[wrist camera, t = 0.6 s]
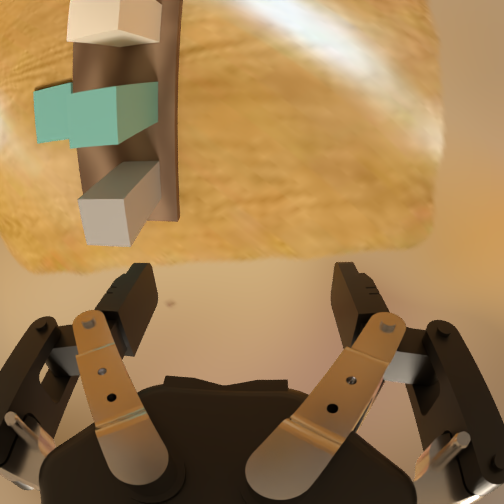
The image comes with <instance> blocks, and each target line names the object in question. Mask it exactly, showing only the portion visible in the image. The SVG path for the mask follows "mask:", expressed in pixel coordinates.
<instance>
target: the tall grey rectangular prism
mask: <svg viewBox="0 0 504 504" xmlns="http://www.w3.org/2000/svg"><path fill="white" fill-rule="evenodd" d="M160 199H161V185H160V167H159V161H131V162H122V163H121V164H119V165H118V166H117V167H115V168H114V169H113V170H112V171H110V172H109V173H108V174H107V175H106V176H104V177H103V178H102V179H101V180H100V181H98V182H97V183H96V184H95V185H94V186H92V187H91V188H90V189H89V190H88V191H87V192H86V193H84V194H83V195H82V196H81V197H80V198H79V199H78V204H79V209H80V214H81V219H82V224H83V229H84V233H85V238H86V242H87V245H101V246H121V247H131V246H132V244H133V242H134V240H135V239H136V237H137V236H138V234H139V232H140V231H141V229H142V227H143V226H144V224H145V222H146V221H147V219H148V218H149V216H150V215H151V213H152V211H153V210H154V208H155V207H156V205H157V204H158V202H159V201H160Z"/></svg>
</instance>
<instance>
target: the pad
mask: <svg viewBox="0 0 504 504" xmlns="http://www.w3.org/2000/svg"><path fill="white" fill-rule="evenodd" d="M33 93H34V112H35V124H36V134H37V143H44V142H50V141H57V140H65V139H69V131H68V118H67V100H66V95H67V94H72V93H73V82H71V83H67V84H62V85H58V86H54V87H50V88H46V89H42V90H38V91H35V92H33Z"/></svg>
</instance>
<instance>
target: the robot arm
mask: <svg viewBox="0 0 504 504" xmlns="http://www.w3.org/2000/svg"><path fill="white" fill-rule="evenodd" d="M157 303H158V292H157V288H156V283H155V279H154V274H153V269H152V266H151V264H150V263H133V264H132V266H131V267H130V269H129V270H128V271H127V273H126V274H122V275H121V276H120V277H118V278H117V279H116V280H115V281H114V282H113V283H112V285H111V287H110V288H109V289H108V290H107V293H106V294H105V295H104V296H103V298H102V299H101V301H100V302H99V303H98V305H97V307H96V308H95V310H89V311H86V312H83V313H81V314H80V315H78V316H77V317H76V318H75V319H74V321H73V324H72V325H66V326H58V325H57V322H56V320H55V319H54V318H53V317H50V316H46V317H42V318H39V319H38V320H36V321H35V322H33V323H32V324H31V325H30V327H29V328H28V330H27V331H26V332H25V334H24V335H23V337H22V338H21V340H20V341H19V343H18V344H17V346H16V347H15V349H14V350H13V352H12V353H11V355H10V356H9V358H8V359H7V361H6V363H5V364H4V366H3V367H2V369H1V371H0V475H2V476H3V477H4V478H6V479H7V480H9V481H11V482H13V483H14V484H15V485H17V486H18V487H20V488H21V489H24V490H31V489H36V490H39V491H40V494H41V504H473V503H475V502H476V501H478V500H480V499H481V498H483V497H484V496H486V495H487V494H489V493H491V492H492V491H494V490H495V489H496V488H498V487H499V486H501V485H502V484H503V483H504V423H503V421H502V418H501V416H500V414H499V411H498V409H497V407H496V404H495V402H494V400H493V398H492V396H491V393H490V391H489V389H488V387H487V385H486V383H485V381H484V378H483V376H482V374H481V373H480V370H479V368H478V367H477V365H476V363H475V361H474V359H473V357H472V355H471V353H470V351H469V349H468V348H467V346H466V344H465V342H464V340H463V339H462V337H461V335H460V333H459V332H458V330H457V329H456V328H455V326H453V325H452V324H450V323H449V322H446V321H442V320H434V321H432V322H430V323H429V324H428V325H427V328H426V330H419V329H412V328H408V327H406V324H405V322H404V321H403V319H402V318H400V317H399V316H397V315H395V314H393V313H390V312H389V310H388V308H387V306H386V304H385V302H384V300H383V298H382V296H381V295H380V294H379V291H378V289H377V288H376V285H375V283H374V282H373V280H372V279H371V278H370V277H369V276H367V275H366V274H365V273H358V271H357V269H356V267H355V265H354V263H353V262H336V263H335V267H334V274H333V282H332V290H331V306H332V310H333V313H334V317H335V320H336V323H337V327H338V331H339V334H340V337H341V341H342V345H343V348H344V350H343V351H342V353H341V354H340V355H339V357H338V358H337V360H336V361H335V362H334V364H333V365H332V366H331V368H330V369H329V370H328V372H327V373H326V374H325V376H324V377H323V378H322V379H321V381H320V382H319V383H318V385H317V386H316V387H315V388H314V390H313V391H312V392H311V393H310V395H308V394H306V393H303V392H301V391H297V390H294V389H289V388H288V381H287V380H255V381H249V382H244V383H238V384H232V385H218V384H215V383H211V382H207V381H204V380H200V379H196V378H188V377H175V376H166V377H165V380H164V384H161V385H156V386H152V387H149V388H146V389H143V390H141V391H140V392H138V393H137V391H136V389H135V387H134V385H133V383H132V381H131V379H130V377H129V374H128V372H127V370H126V368H125V365H124V363H123V361H122V359H123V357H124V355H125V356H133V357H134V356H135V354H136V351H137V349H138V347H139V345H140V342H141V340H142V338H143V335H144V333H145V331H146V328H147V326H148V324H149V322H150V319H151V317H152V315H153V313H154V311H155V308H156V306H157ZM45 363H46V365H47V366H48V368H49V369H48V372H47V373H46V375H45V377H44V379H43V381H42V383H41V384H40V381H39V374H40V371H41V369H42V367H43V365H44V364H45ZM79 376H81V380H82V384H83V387H84V391H85V394H86V397H87V401H88V404H89V407H90V411H91V414H92V417H93V420H94V423H93V424H91V425H90V426H88V427H87V428H85V429H84V430H82V431H81V432H79V433H78V434H76V435H75V436H73V437H72V438H70V439H69V440H67V441H66V442H64V443H63V444H61V445H59V446H58V447H57V448H55V443H54V440H53V439H54V437H55V434H56V431H57V429H58V426H59V423H60V421H61V418H62V416H63V413H64V410H65V408H66V406H67V403H68V401H69V399H70V396H71V394H72V392H73V389H74V387H75V385H76V382H77V380H78V378H79ZM385 381H392V382H400V383H405V385H406V388H407V391H408V395H409V398H410V402H411V405H412V408H413V412H414V415H415V419H416V423H417V427H418V431H419V434H420V438H421V442H422V446H423V450H424V452H423V453H422V454H421V455H420V456H419V458H418V459H417V461H416V464H415V478H414V480H413V482H412V480H411V479H410V477H409V476H408V475H407V474H406V473H405V472H404V471H403V470H402V469H400V468H399V467H398V466H397V465H395V464H394V463H393V462H391V461H390V460H389V459H388V458H386V457H385V456H384V455H382V454H381V453H380V452H379V451H377V450H376V449H375V448H374V447H373V446H371V445H370V444H369V443H367V442H366V441H365V440H364V439H363V438H361V437H360V436H359V435H358V434H357V432H358V430H359V428H360V427H361V425H362V423H363V421H364V419H365V418H366V416H367V414H368V412H369V410H370V409H371V407H372V405H373V403H374V401H375V400H376V398H377V396H378V394H379V392H380V390H381V388H382V386H383V385H384V383H385Z"/></svg>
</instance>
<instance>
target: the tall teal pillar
mask: <svg viewBox="0 0 504 504" xmlns="http://www.w3.org/2000/svg"><path fill="white" fill-rule="evenodd" d="M66 100H67V118H68V131H69V142H70V149H71V148H81V147H91V146H103V145H118V144H120V143H122V142H123V141H125V140H127V139H128V138H130V137H132V136H133V135H135V134H137V133H139V132H140V131H142V130H144V129H146V128H148V127H149V126H151V125H153V124H155V123H157V122H158V82H146V83H136V84H126V85H118V86H111V87H104V88H98V89H92V90H87V91H82V92H77V93H72V94H67V95H66Z"/></svg>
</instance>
